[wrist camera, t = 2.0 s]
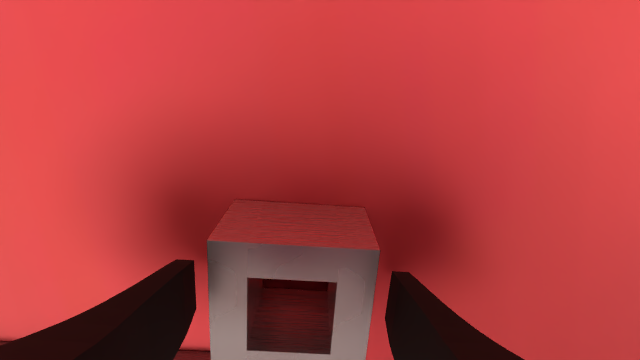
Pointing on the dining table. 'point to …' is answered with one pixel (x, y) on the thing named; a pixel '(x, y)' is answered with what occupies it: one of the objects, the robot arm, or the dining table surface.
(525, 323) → the dining table surface
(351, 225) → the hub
